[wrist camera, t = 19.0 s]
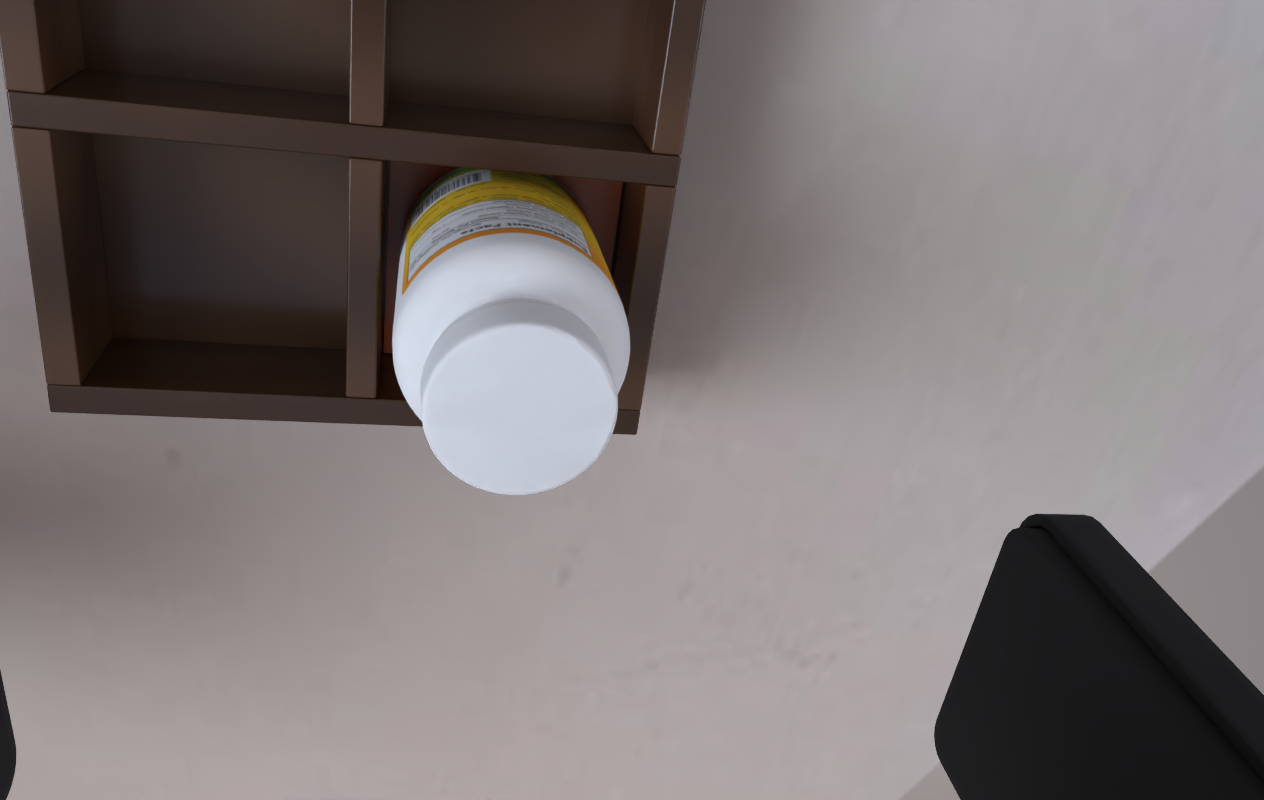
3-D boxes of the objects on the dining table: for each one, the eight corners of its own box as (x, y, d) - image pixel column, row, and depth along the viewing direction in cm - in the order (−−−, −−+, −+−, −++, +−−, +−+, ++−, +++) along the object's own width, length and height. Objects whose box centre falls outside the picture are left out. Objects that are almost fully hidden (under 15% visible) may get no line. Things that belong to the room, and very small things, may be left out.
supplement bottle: (559, 355, 31) (604, 546, 22) (380, 310, 29) (356, 498, 21) (618, 187, 29) (692, 330, 20) (428, 129, 27) (423, 257, 19)
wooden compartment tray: (19, -285, 22) (-51, -306, 19) (698, -170, 25) (734, -173, 22) (91, 352, 29) (49, 412, 26) (618, 378, 32) (636, 435, 29)
